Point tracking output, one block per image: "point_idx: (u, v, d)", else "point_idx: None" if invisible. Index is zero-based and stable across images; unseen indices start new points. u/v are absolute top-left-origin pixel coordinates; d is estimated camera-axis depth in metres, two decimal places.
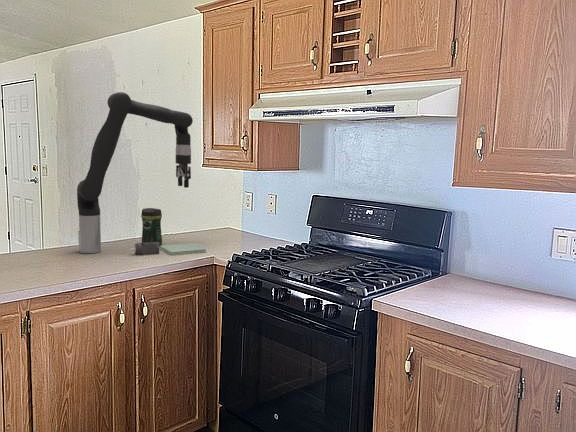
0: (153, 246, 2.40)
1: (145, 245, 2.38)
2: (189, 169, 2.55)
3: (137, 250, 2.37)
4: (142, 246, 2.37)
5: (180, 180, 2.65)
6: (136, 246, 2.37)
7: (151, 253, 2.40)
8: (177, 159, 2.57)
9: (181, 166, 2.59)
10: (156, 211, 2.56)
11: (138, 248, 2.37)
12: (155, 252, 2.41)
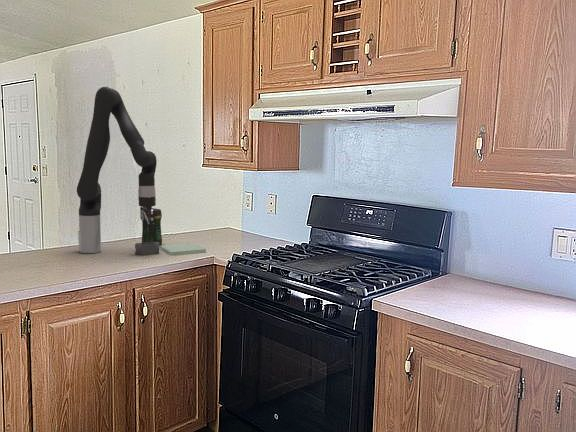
0: (153, 246, 2.40)
1: (145, 245, 2.38)
2: (153, 213, 2.33)
3: (137, 250, 2.37)
4: (142, 246, 2.37)
5: (145, 223, 2.43)
6: (136, 246, 2.37)
7: (151, 253, 2.40)
8: (140, 201, 2.35)
9: (145, 209, 2.37)
10: (156, 211, 2.56)
11: (138, 248, 2.37)
12: (155, 252, 2.41)
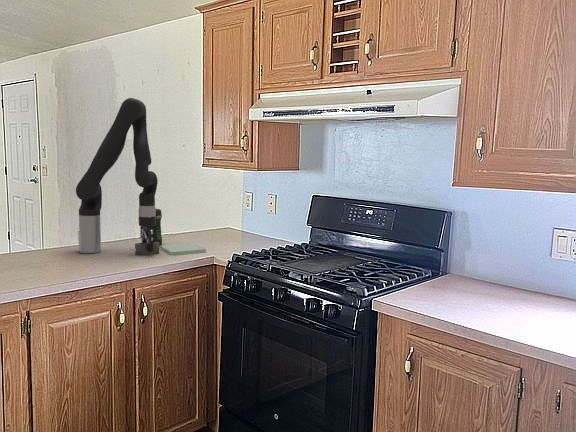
0: (153, 246, 2.40)
1: (145, 245, 2.38)
2: (153, 233, 2.34)
3: (137, 250, 2.37)
4: (142, 246, 2.37)
5: None
6: (136, 246, 2.37)
7: (151, 253, 2.40)
8: (140, 221, 2.36)
9: (145, 228, 2.38)
10: (156, 211, 2.56)
11: (138, 248, 2.37)
12: (155, 252, 2.41)
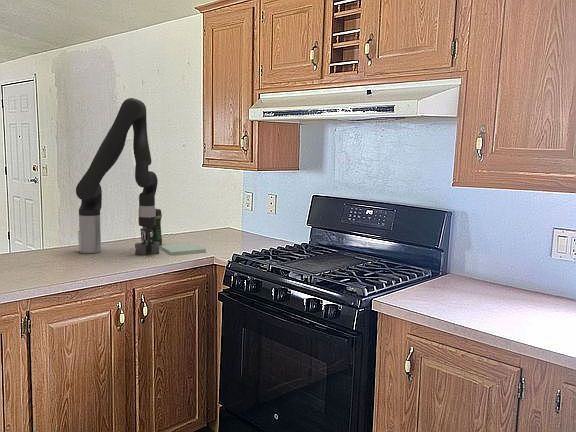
0: (153, 246, 2.40)
1: (145, 245, 2.38)
2: (152, 235, 2.35)
3: (137, 250, 2.37)
4: (142, 246, 2.37)
5: None
6: (136, 246, 2.37)
7: (151, 253, 2.40)
8: (140, 221, 2.36)
9: (145, 228, 2.38)
10: (156, 211, 2.56)
11: (138, 248, 2.37)
12: (155, 252, 2.41)
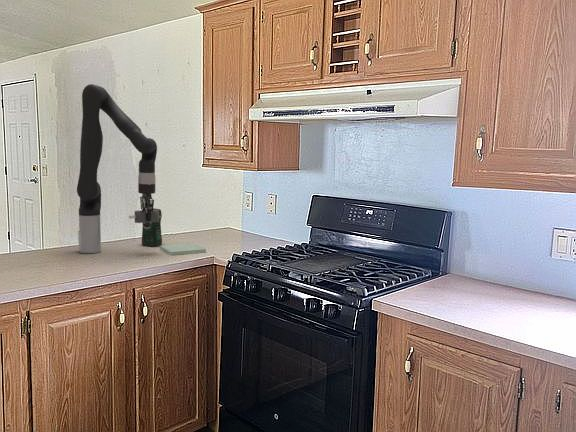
0: (152, 214, 2.38)
1: (144, 212, 2.36)
2: (152, 202, 2.33)
3: (136, 217, 2.35)
4: (141, 213, 2.35)
5: None
6: (135, 213, 2.35)
7: (151, 221, 2.38)
8: (140, 188, 2.34)
9: (144, 196, 2.36)
10: None
11: (137, 215, 2.35)
12: (155, 220, 2.39)
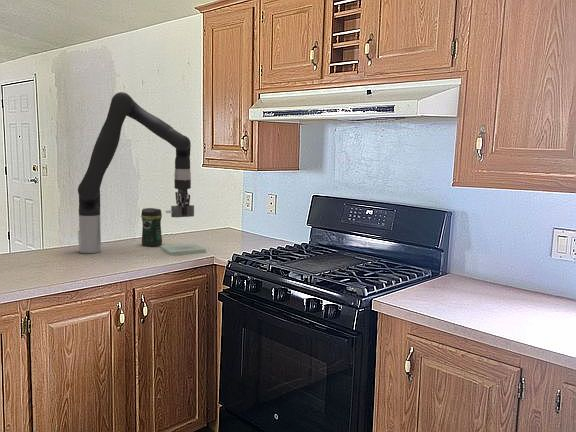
0: (188, 208, 2.46)
1: (181, 207, 2.44)
2: (188, 198, 2.41)
3: (173, 212, 2.44)
4: (178, 208, 2.44)
5: None
6: (172, 208, 2.44)
7: (187, 215, 2.46)
8: (176, 184, 2.43)
9: (180, 191, 2.45)
10: (156, 211, 2.56)
11: (174, 210, 2.43)
12: (190, 214, 2.47)
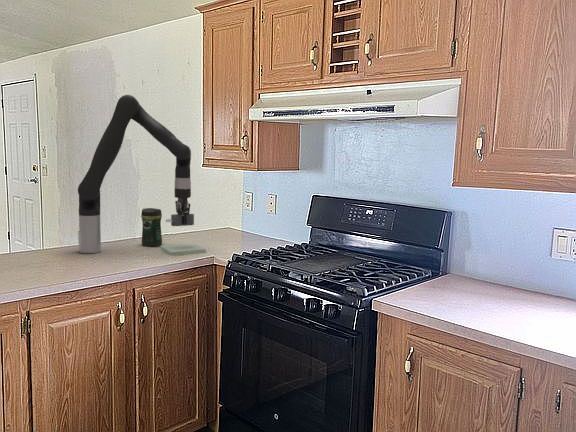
0: (188, 217, 2.47)
1: (181, 216, 2.45)
2: (188, 206, 2.42)
3: (173, 221, 2.44)
4: (178, 217, 2.44)
5: None
6: (172, 217, 2.44)
7: (186, 224, 2.47)
8: (176, 193, 2.43)
9: (180, 200, 2.46)
10: (156, 211, 2.56)
11: (174, 219, 2.44)
12: (190, 223, 2.48)
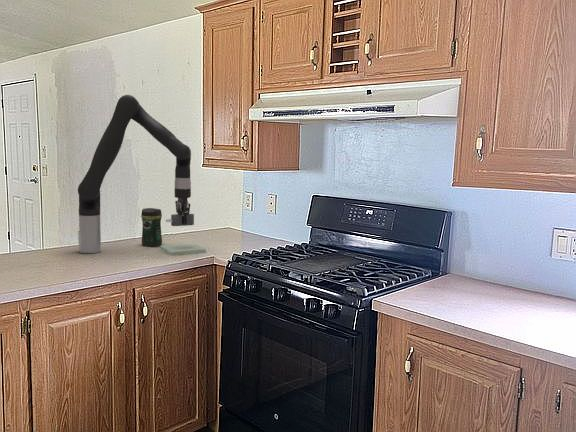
0: (188, 217, 2.47)
1: (181, 216, 2.45)
2: (188, 206, 2.42)
3: (173, 221, 2.44)
4: (178, 217, 2.44)
5: None
6: (172, 217, 2.44)
7: (186, 224, 2.47)
8: (176, 193, 2.43)
9: (180, 200, 2.46)
10: (156, 211, 2.56)
11: (174, 219, 2.44)
12: (190, 223, 2.48)
